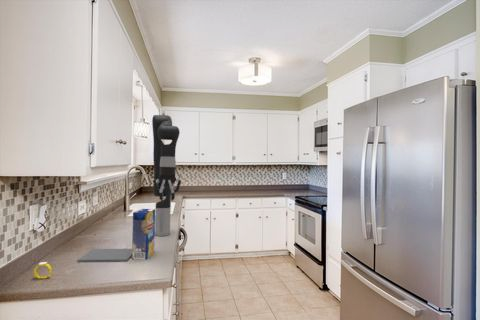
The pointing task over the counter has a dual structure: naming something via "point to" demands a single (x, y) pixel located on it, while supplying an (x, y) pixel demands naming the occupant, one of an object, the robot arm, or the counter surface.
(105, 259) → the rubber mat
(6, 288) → the counter surface
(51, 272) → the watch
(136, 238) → the beverage box
